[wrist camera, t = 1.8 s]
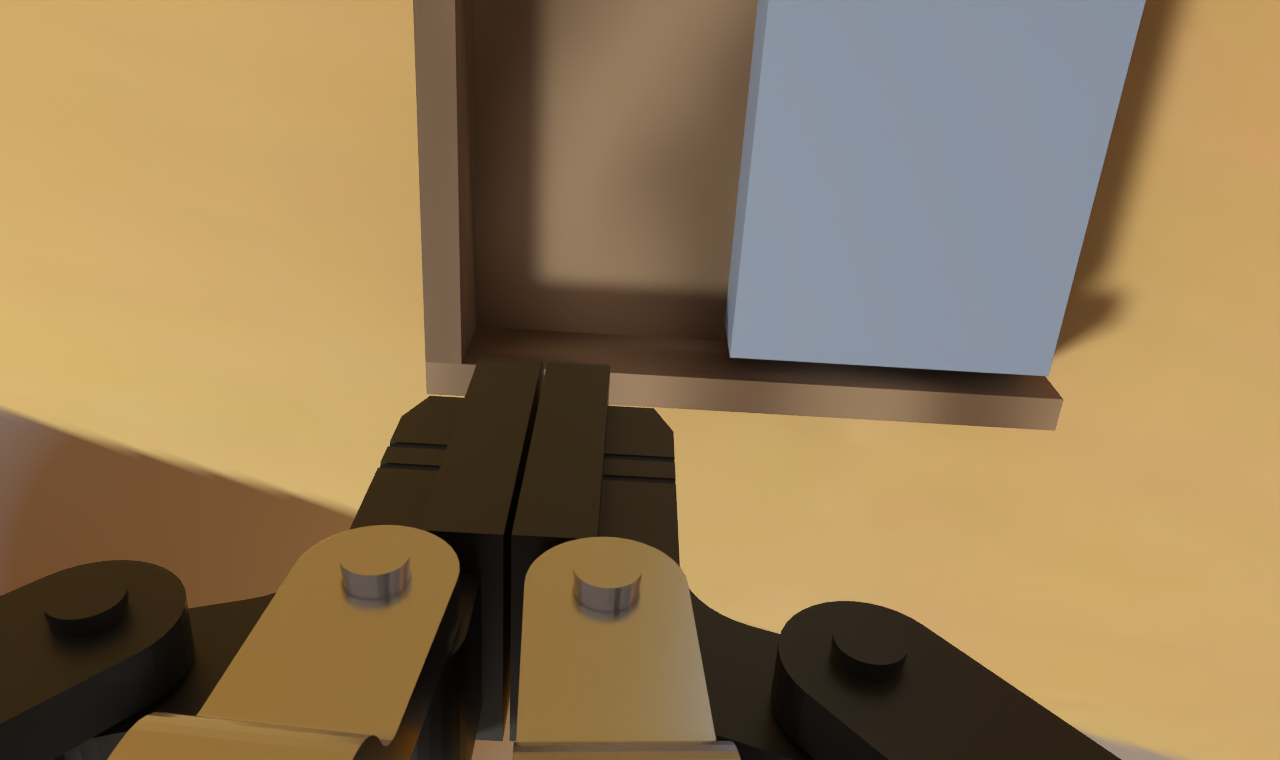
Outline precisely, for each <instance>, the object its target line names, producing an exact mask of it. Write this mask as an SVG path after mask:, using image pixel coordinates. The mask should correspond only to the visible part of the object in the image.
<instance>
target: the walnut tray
mask: <svg viewBox="0 0 1280 760" xmlns="http://www.w3.org/2000/svg"><path fill="white" fill-rule="evenodd" d="M757 4H758V0H413V11H414V40H415V68H416V97H417V126H418V155H419V184H420V213H421V241H422V270H423V299H424V328H425V357H426V386H427V394H439V395H456V396H465V395H466V392H467V390H468V387H469V384H470V381H471V378H472V376H473V373H474V370H475V367H476V364H477V361H478V359H479V358H480V357H487V358H504V359H521V360H538V361H543V363H544V376H545V371H546V367H547V362H548V361H559V362H576V363H593V364H610V385H609V404H610V405H627V406H644V407H661V408H679V409H696V410H713V411H730V412H747V413H764V414H781V415H798V416H816V417H833V418H850V419H867V420H884V421H901V422H918V423H935V424H952V425H970V426H987V427H1004V428H1021V429H1038V430H1055V428H1056V425H1057V421H1058V417H1059V413H1060V410H1061V406H1062V402H1063V399H1062V397H1061V396H1060V395H1059V393H1058V392H1057V391H1056V390H1055V388H1054V387H1053V386H1052V385H1051V383H1050V382H1049V381H1048V380H1047V378H1046V377H1045V376H1034V375H1018V374H1001V373H984V372H967V371H950V370H933V369H916V368H899V367H883V366H866V365H849V364H832V363H815V362H798V361H781V360H764V359H747V358H731V357H730V355H729V348H728V342H727V336H726V330H725V324H724V322H725V312H726V303H727V293H728V283H729V274H730V264H731V254H732V245H733V235H734V225H735V216H736V206H737V197H738V187H739V177H740V168H741V158H742V148H743V139H744V129H745V119H746V110H747V100H748V91H749V81H750V71H751V62H752V52H753V42H754V33H755V23H756V13H757Z"/></svg>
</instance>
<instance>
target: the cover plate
mask: <svg viewBox="0 0 1280 760" xmlns="http://www.w3.org/2000/svg"><path fill="white" fill-rule="evenodd" d="M1145 2H1146V0H758V4H757V13H756V23H755V33H754V42H753V52H752V62H751V71H750V81H749V91H748V100H747V110H746V119H745V129H744V139H743V148H742V158H741V168H740V177H739V187H738V197H737V206H736V216H735V225H734V235H733V245H732V254H731V264H730V274H729V283H728V293H727V303H726V312H725V322H724V324H725V330H726V336H727V342H728V348H729V355H730V357H731V358H747V359H764V360H781V361H798V362H815V363H832V364H849V365H866V366H883V367H899V368H916V369H933V370H950V371H967V372H984V373H1001V374H1018V375H1034V376H1048V375H1049V371H1050V368H1051V364H1052V360H1053V356H1054V352H1055V348H1056V344H1057V341H1058V337H1059V333H1060V329H1061V325H1062V321H1063V317H1064V314H1065V310H1066V306H1067V302H1068V298H1069V294H1070V291H1071V287H1072V283H1073V279H1074V275H1075V271H1076V267H1077V264H1078V260H1079V256H1080V252H1081V248H1082V244H1083V240H1084V237H1085V233H1086V229H1087V225H1088V221H1089V217H1090V213H1091V210H1092V206H1093V202H1094V198H1095V194H1096V190H1097V186H1098V183H1099V179H1100V175H1101V171H1102V167H1103V163H1104V160H1105V156H1106V152H1107V148H1108V144H1109V140H1110V136H1111V133H1112V129H1113V125H1114V121H1115V117H1116V113H1117V109H1118V106H1119V102H1120V98H1121V94H1122V90H1123V86H1124V82H1125V79H1126V75H1127V71H1128V67H1129V63H1130V59H1131V56H1132V52H1133V48H1134V44H1135V40H1136V36H1137V32H1138V29H1139V25H1140V21H1141V17H1142V13H1143V9H1144V5H1145Z"/></svg>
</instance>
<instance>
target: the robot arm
mask: <svg viewBox="0 0 1280 760" xmlns="http://www.w3.org/2000/svg"><path fill="white" fill-rule="evenodd" d="M609 385H610V364H593V363H576V362H559V361H548V362H547V367H546V371H545V376H544V363H543V361H538V360H521V359H504V358H487V357H480V358H479V359H478V361H477V364H476V367H475V370H474V373H473V376H472V378H471V381H470V384H469V387H468V390H467V392H466V395H465V398H458V397H441V396H429V397H428V398H427V399H425V400H424V401H422V402H421V403H420V404H418V405H417V406H415V407H414V408H413V409H411V410H410V411H409V412H407V413H406V414H404V415H403V416H402V417H401V419H400V421H399V423H398V426H397V428H396V430H395V432H394V434H393V436H392V439H391V441H390V447H387V449H386V452H385V454H384V456H383V458H382V460H381V465H380V468H378V469H377V471H376V473H375V476H374V478H373V480H372V482H371V484H370V486H369V489H368V491H367V493H366V495H365V497H364V499H363V502H362V504H361V506H360V508H359V510H358V512H357V515H356V517H355V519H354V521H353V523H352V526H351V528H350V530H347V531H344V532H341V533H338V534H335V535H332V536H330V537H329V538H326V539H324V540H322V541H320V542H319V543H317V544H315V545H314V546H312V547H311V548H310V549H309V550H307V551H306V552H305V553H304V554H303V555H302V556H301V557H300V558H299V560H298V561H297V562H296V563H295V565H294V566H293V568H292V570H291V571H290V573H289V574H288V576H287V577H286V579H285V580H284V582H283V583H282V585H281V586H280V588H279V590H278V591H277V593H273V594H270V595H267V596H263V597H257V598H253V599H247V600H241V601H235V602H229V603H222V604H216V605H209V606H202V607H196V608H189V609H188V606H187V599H186V593H185V588H184V586H183V584H182V583H181V580H180V579H179V578H178V577H177V576H176V575H175V574H173V573H172V572H170V571H168V570H167V569H165V568H163V567H160V566H157V565H155V564H151V563H146V562H141V561H130V560H112V561H102V562H94V563H89V564H84V565H79V566H75V567H72V568H68V569H65V570H62V571H59V572H56V573H54V574H51V575H49V576H46V577H44V578H41V579H39V580H37V581H34V582H32V583H30V584H27V585H25V586H23V587H20V588H19V589H16V590H13V591H11V592H9V593H6V594H5V595H2V596H0V760H471V758H472V753H473V748H474V743H475V740H492V741H493V740H494V741H503V736H504V730H505V724H506V718H507V712H508V706H509V700H510V741H516V742H514V747H513V759H512V760H1121V759H1119V758H1118V757H1116V756H1115V755H1113V754H1112V753H1111V752H1109V751H1107V750H1106V749H1105V748H1103V747H1102V746H1100V745H1099V744H1097V743H1096V742H1094V741H1093V740H1091V739H1090V738H1088V737H1087V736H1086V735H1084V734H1083V733H1081V732H1080V731H1078V730H1077V729H1075V728H1074V727H1072V726H1071V725H1069V724H1068V723H1066V722H1065V721H1063V720H1062V719H1061V718H1059V717H1058V716H1056V715H1055V714H1053V713H1052V712H1050V711H1049V710H1047V709H1046V708H1044V707H1043V706H1041V705H1040V704H1038V703H1037V702H1035V701H1034V700H1033V699H1031V698H1030V697H1028V696H1027V695H1025V694H1024V693H1022V692H1021V691H1019V690H1018V689H1016V688H1015V687H1013V686H1012V685H1010V684H1009V683H1007V682H1006V681H1005V680H1003V679H1002V678H1000V677H999V676H997V675H996V674H994V673H993V672H991V671H990V670H988V669H987V668H985V667H984V666H982V665H981V664H979V663H978V662H977V661H975V660H974V659H972V658H971V657H969V656H968V655H966V654H965V653H963V652H962V651H960V650H959V649H957V648H956V647H954V646H953V645H952V644H950V643H949V642H947V641H946V640H944V639H943V638H941V637H940V636H938V635H937V634H935V633H934V632H932V631H931V630H929V629H928V628H926V627H925V626H924V625H922V624H920V623H919V622H917V621H915V620H914V619H912V618H910V617H908V616H906V615H904V614H901V613H899V612H897V611H894V610H891V609H888V608H885V607H882V606H878V605H874V604H869V603H862V602H855V601H836V602H826V603H822V604H818V605H814V606H811V607H809V608H806V609H804V610H802V611H800V612H799V613H797V614H796V615H794V616H793V617H792V618H791V619H790V620H789V621H788V622H787V623H786V624H785V626H784V628H783V629H782V631H781V634H777V633H774V632H770V631H766V630H763V629H759V628H756V627H752V626H749V625H746V624H743V623H740V622H737V621H734V620H732V619H730V618H728V617H725V616H723V615H721V614H720V613H718V612H716V611H714V610H713V609H711V608H709V607H708V606H707V605H706V604H704V603H703V602H702V601H700V600H699V599H698V598H697V597H696V596H695V595H694V594H693V593H692V592H691V590H690V589H689V586H688V582H687V579H686V576H685V574H684V573H683V571H682V569H681V568H680V563H679V542H678V521H677V500H676V484H675V462H674V437H673V431H672V430H671V428H670V427H669V426H668V425H667V424H666V422H665V421H664V420H663V419H662V418H661V416H660V415H659V414H658V413H657V412H656V410H655V409H654V408H636V407H619V406H608V404H609Z"/></svg>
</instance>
